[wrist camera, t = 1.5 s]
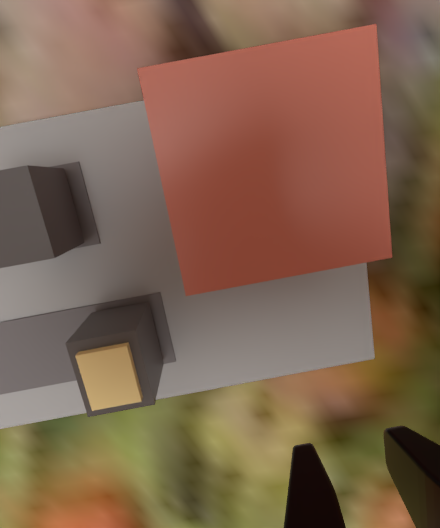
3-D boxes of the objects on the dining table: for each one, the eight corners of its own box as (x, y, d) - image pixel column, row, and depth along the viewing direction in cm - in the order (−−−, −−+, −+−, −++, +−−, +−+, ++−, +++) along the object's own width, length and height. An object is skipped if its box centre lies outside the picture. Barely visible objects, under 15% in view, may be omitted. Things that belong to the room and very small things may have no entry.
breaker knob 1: (64, 168, 14) (27, 165, 11) (84, 242, 15) (54, 257, 12) (1, 180, 14) (-52, 179, 11) (24, 254, 15) (-20, 272, 12)
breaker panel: (337, 71, 15) (355, 56, 13) (363, 347, 18) (380, 365, 16) (-172, 166, 15) (-222, 164, 13) (-62, 426, 18) (-90, 453, 16)
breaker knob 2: (148, 301, 15) (134, 333, 12) (163, 363, 16) (153, 409, 13) (91, 312, 15) (61, 347, 12) (109, 374, 16) (85, 422, 13)
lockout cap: (315, 79, 14) (376, 23, 9) (331, 233, 15) (392, 257, 10) (160, 108, 14) (137, 68, 9) (191, 259, 15) (185, 296, 10)
